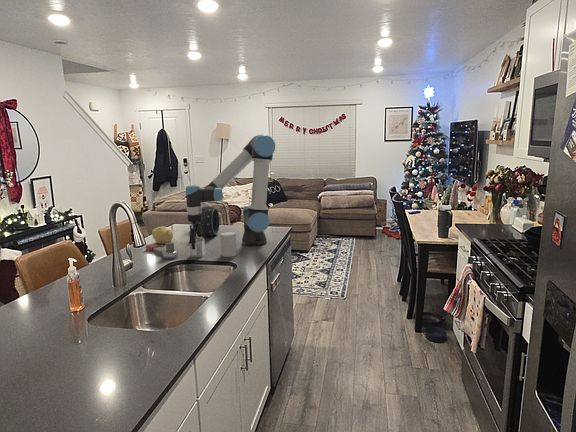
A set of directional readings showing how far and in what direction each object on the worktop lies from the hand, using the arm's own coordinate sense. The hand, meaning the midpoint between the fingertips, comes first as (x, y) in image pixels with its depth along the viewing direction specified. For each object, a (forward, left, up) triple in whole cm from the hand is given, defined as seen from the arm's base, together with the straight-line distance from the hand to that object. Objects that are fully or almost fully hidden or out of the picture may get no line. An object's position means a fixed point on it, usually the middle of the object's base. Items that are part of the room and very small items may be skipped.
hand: (197, 251), depth 214 cm
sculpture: (+38, -19, -3) cm, 42 cm away
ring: (+18, -41, -3) cm, 45 cm away
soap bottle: (+34, -62, -3) cm, 71 cm away
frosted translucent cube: (0, 0, -2) cm, 2 cm away
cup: (-17, -5, -3) cm, 18 cm away
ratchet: (+23, +2, -2) cm, 23 cm away
